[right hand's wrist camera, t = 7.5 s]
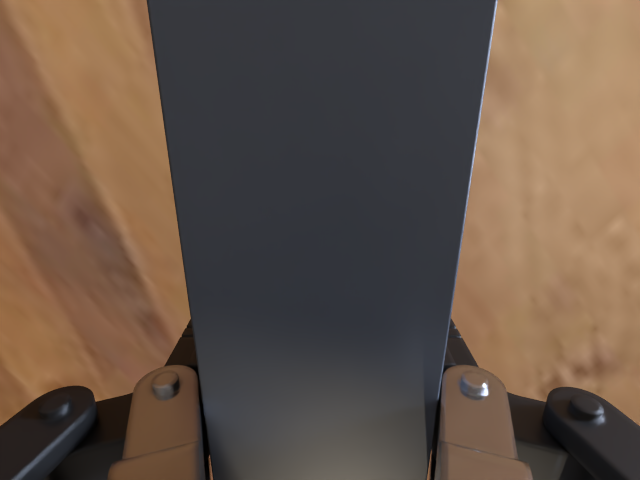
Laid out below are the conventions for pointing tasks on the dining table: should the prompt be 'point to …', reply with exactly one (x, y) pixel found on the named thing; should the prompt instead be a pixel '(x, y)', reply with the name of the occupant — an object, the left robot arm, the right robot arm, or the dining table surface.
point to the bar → (321, 220)
